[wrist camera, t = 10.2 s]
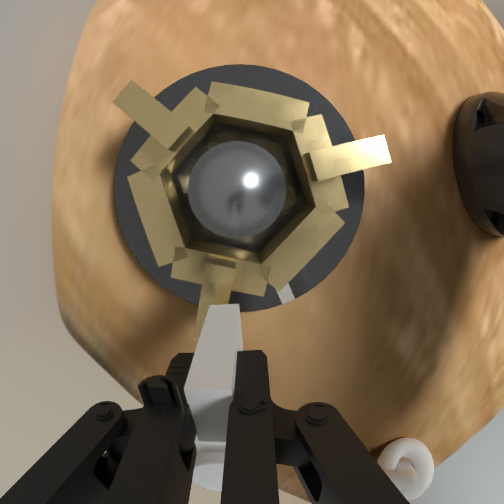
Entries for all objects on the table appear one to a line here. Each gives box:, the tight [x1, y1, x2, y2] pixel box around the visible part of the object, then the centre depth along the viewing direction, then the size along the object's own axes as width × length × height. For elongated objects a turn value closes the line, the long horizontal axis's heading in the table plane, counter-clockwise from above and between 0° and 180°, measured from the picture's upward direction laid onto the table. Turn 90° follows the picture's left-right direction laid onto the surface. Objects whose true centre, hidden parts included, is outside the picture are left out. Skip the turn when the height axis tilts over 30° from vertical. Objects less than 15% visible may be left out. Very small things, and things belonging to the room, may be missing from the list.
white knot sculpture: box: [377, 437, 434, 501], centre depth 25 cm, size 11×12×9 cm
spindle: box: [188, 141, 286, 239], centre depth 17 cm, size 5×5×8 cm
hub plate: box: [114, 64, 365, 312], centre depth 20 cm, size 18×18×2 cm
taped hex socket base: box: [113, 80, 391, 338], centre depth 17 cm, size 15×16×4 cm
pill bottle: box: [192, 434, 226, 492], centre depth 20 cm, size 6×6×10 cm
